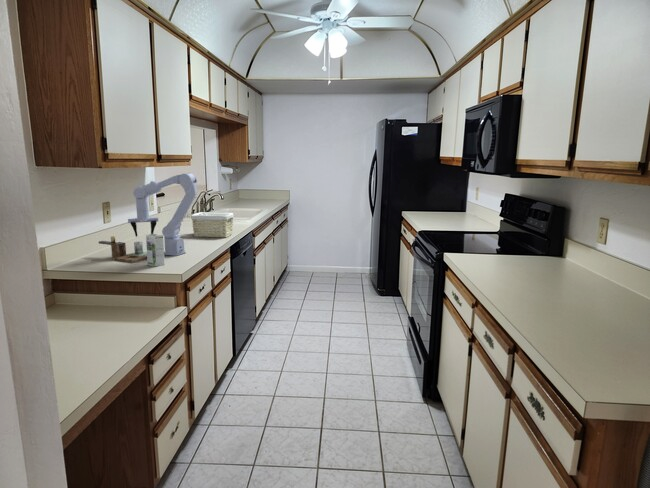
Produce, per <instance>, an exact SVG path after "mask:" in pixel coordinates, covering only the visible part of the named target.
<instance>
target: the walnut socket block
mask: <svg viewBox="0 0 650 488" xmlns="http://www.w3.org/2000/svg"><path fill="white" fill-rule="evenodd" d="M118 243H124V245H122V246H119V244H113V243H112V244H111V245H110V246H111V247H110V248H111V249H110V250H111V258H112V260H114V261H116V262H124V263H130V264H134V263H138V262H141V261H145V260H147V255H145V256H142V255H135V254H130V253H127V246H126V242H122V241H119V242H118ZM126 254H128V255H126Z"/></svg>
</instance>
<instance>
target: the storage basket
mask: <svg viewBox="0 0 650 488" xmlns="http://www.w3.org/2000/svg"><path fill="white" fill-rule="evenodd" d="M190 217H191V221H192V228H193V229H192V230H193V236H194V237H195V238H196V237H197V238H227V237H229V236H230V237H231V236H232V235H233V225H234V224H233V223H234V222H233V221H234V217H235V216H234V213H233V212H212V211H211V212H210V211H209V212H207V211H200V212H196V213H194V214H191V216H190Z"/></svg>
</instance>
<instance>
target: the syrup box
mask: <svg viewBox="0 0 650 488" xmlns="http://www.w3.org/2000/svg"><path fill="white" fill-rule="evenodd" d="M145 240H146V243H145V244H146V252H147V255H146V256H147V259H146V260H147V262H146V263H147V264H146V265H148V266H151V267H160V266H163V265H165V254H164V252H165V241H164V235H163V234H158V233H153V234H151V233H150V234H147V235H145Z"/></svg>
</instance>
